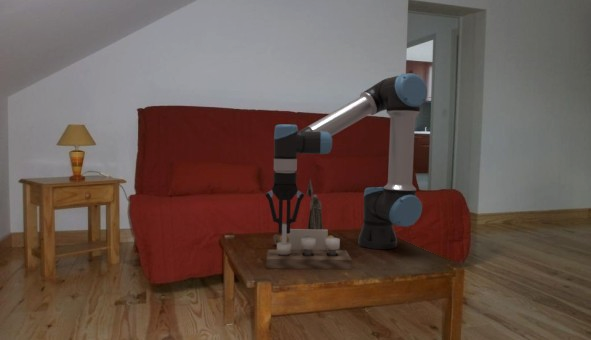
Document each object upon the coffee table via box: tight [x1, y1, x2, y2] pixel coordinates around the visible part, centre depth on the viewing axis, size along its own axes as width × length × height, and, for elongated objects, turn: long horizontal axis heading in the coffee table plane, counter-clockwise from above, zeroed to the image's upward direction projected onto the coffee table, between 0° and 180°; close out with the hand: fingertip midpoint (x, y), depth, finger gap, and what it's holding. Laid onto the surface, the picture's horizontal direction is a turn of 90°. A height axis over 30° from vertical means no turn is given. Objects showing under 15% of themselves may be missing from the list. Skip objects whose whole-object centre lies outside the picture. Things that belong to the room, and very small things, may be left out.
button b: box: [301, 237, 316, 256], centre depth 141 cm, size 5×5×6 cm
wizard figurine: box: [306, 178, 324, 229], centre depth 178 cm, size 10×8×25 cm
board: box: [265, 248, 352, 270], centre depth 141 cm, size 27×12×3 cm, turn 91°
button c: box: [276, 242, 291, 256], centre depth 141 cm, size 5×5×6 cm
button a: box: [325, 237, 341, 256], centre depth 141 cm, size 5×5×6 cm
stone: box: [272, 234, 282, 246], centre depth 163 cm, size 9×11×5 cm
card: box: [280, 228, 335, 250], centre depth 147 cm, size 19×1×10 cm, turn 91°
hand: (284, 243), depth 141 cm, fingers closed
